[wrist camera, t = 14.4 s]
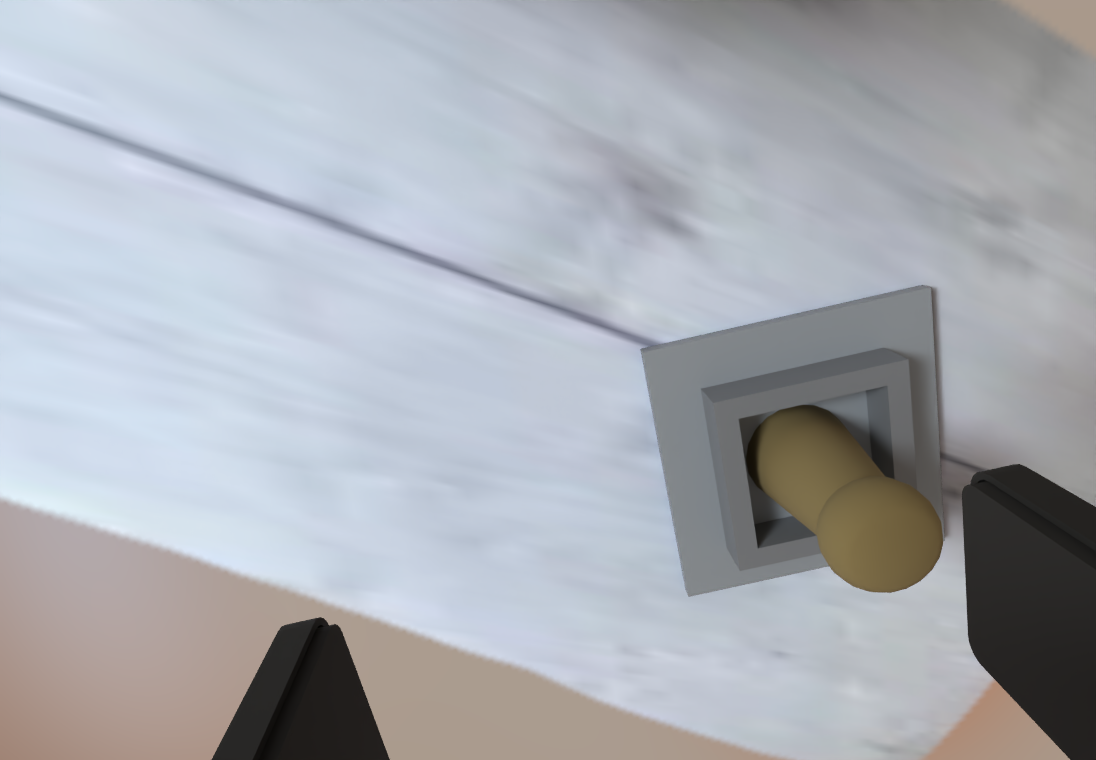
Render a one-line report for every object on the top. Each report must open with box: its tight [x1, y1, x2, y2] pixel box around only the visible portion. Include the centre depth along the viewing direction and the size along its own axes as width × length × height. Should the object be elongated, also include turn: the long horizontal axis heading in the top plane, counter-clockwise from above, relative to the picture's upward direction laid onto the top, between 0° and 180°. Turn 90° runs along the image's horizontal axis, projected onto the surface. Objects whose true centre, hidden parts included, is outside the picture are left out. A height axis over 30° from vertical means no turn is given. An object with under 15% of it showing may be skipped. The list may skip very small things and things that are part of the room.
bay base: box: [641, 285, 945, 597], centre depth 39 cm, size 16×16×3 cm
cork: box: [746, 405, 943, 593], centre depth 34 cm, size 6×6×11 cm
